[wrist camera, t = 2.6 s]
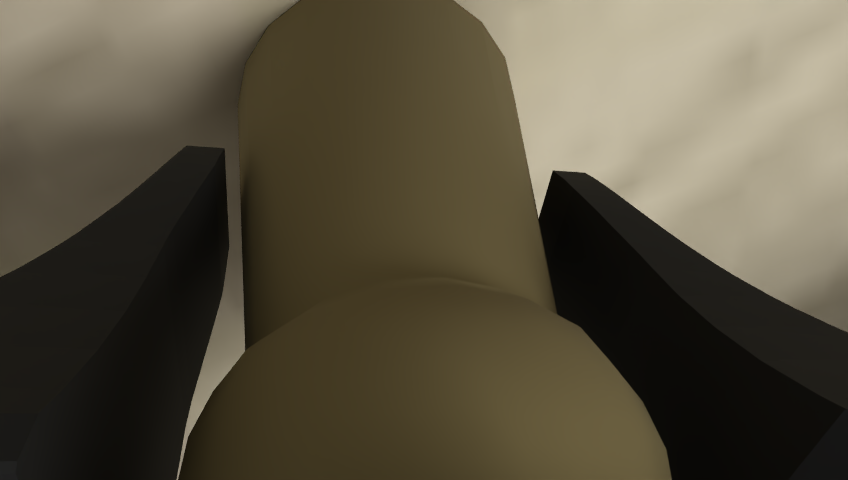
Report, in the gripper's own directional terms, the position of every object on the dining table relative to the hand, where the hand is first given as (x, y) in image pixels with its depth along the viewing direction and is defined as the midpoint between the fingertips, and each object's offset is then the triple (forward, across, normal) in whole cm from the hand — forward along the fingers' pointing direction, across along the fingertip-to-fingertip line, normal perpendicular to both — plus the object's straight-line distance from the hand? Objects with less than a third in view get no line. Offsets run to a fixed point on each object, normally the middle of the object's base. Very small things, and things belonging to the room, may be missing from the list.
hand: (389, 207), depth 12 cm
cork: (+4, 0, 0) cm, 4 cm away
